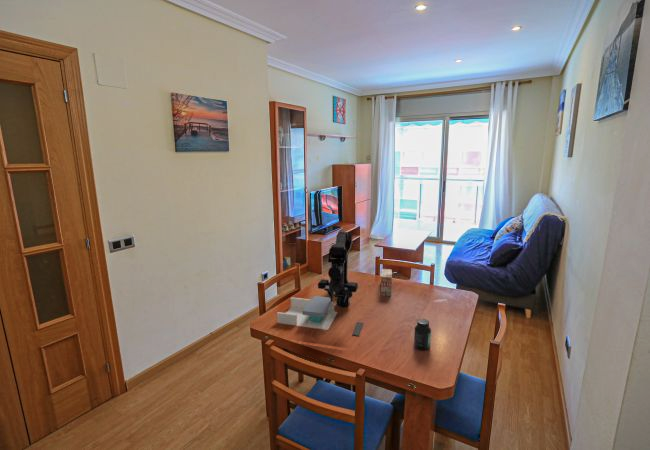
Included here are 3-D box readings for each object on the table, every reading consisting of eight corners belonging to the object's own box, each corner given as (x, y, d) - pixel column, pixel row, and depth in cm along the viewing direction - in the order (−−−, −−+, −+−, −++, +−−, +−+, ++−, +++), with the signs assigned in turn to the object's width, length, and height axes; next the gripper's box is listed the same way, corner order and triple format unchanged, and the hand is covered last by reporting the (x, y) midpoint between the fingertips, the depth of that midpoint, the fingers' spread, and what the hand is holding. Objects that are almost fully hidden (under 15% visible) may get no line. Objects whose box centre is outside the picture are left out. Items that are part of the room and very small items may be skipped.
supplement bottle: (433, 349, 144) (434, 324, 141) (418, 351, 142) (419, 326, 140) (425, 341, 150) (426, 316, 148) (411, 343, 149) (412, 318, 146)
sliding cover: (332, 301, 176) (332, 297, 176) (322, 317, 160) (322, 313, 159) (313, 299, 179) (313, 295, 179) (302, 314, 162) (302, 310, 162)
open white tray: (337, 313, 177) (337, 302, 176) (327, 331, 159) (327, 319, 158) (291, 307, 184) (291, 297, 183) (277, 324, 166) (277, 312, 165)
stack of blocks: (381, 282, 219) (381, 264, 216) (391, 282, 218) (391, 264, 215) (380, 295, 198) (381, 276, 196) (391, 296, 197) (391, 276, 195)
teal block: (323, 318, 170) (322, 308, 169) (320, 322, 166) (320, 313, 165) (313, 316, 172) (313, 307, 171) (310, 321, 167) (310, 312, 166)
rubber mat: (363, 323, 166) (363, 322, 166) (359, 336, 155) (359, 335, 155) (340, 320, 170) (340, 319, 170) (333, 332, 158) (333, 331, 158)
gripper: (313, 275, 155) (314, 306, 158) (353, 279, 150) (353, 311, 153) (321, 267, 166) (321, 297, 169) (358, 271, 160) (358, 301, 164)
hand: (337, 301), depth 163 cm, fingers open, 5 cm apart
